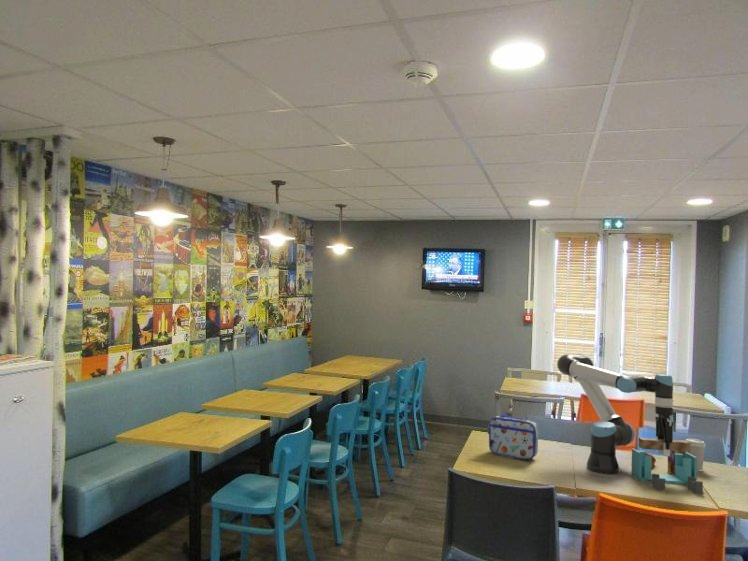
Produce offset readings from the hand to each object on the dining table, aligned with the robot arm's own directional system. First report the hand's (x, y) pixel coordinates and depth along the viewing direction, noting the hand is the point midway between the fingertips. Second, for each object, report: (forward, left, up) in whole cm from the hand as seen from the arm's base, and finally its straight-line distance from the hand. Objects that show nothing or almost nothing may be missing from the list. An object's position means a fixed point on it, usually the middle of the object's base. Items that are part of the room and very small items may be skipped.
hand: (664, 454), depth 241 cm
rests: (0, -13, -12) cm, 18 cm away
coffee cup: (+26, +23, -13) cm, 37 cm away
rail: (0, 0, +2) cm, 2 cm away
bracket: (0, 0, -12) cm, 12 cm away
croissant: (+2, +27, -13) cm, 30 cm away
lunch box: (-69, +22, -13) cm, 74 cm away
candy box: (+12, +11, -13) cm, 21 cm away
